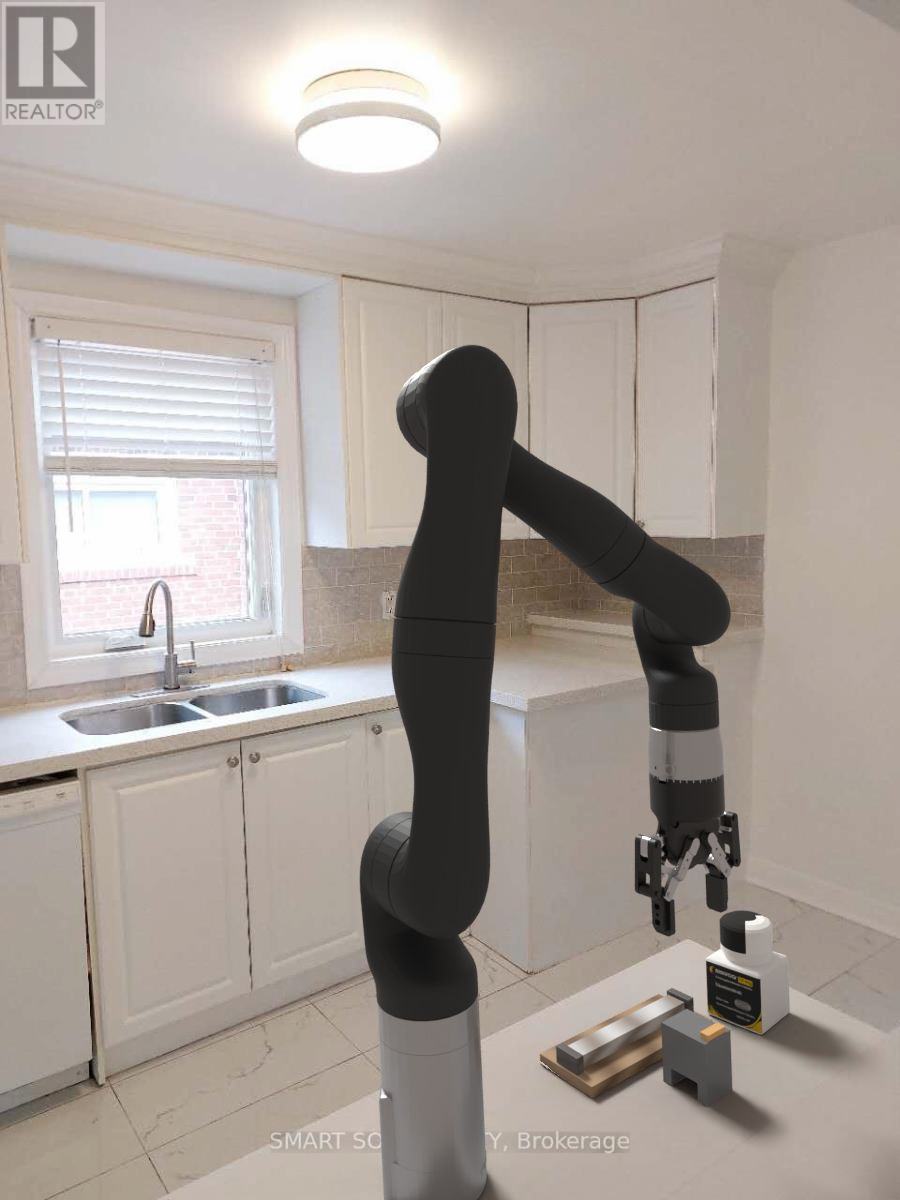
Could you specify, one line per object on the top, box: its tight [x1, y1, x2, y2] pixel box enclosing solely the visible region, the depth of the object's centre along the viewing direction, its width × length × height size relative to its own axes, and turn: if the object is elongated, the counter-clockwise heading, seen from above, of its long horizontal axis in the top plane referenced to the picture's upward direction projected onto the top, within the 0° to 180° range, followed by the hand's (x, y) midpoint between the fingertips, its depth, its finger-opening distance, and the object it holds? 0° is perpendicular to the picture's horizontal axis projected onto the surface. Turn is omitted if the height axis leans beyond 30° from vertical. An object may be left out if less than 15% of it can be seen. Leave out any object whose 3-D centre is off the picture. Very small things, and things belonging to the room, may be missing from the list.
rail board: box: [539, 987, 713, 1099], centre depth 97 cm, size 20×8×3 cm, turn 126°
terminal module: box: [661, 1009, 733, 1107], centre depth 89 cm, size 4×6×7 cm
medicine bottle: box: [705, 910, 791, 1036], centre depth 103 cm, size 7×7×12 cm
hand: (691, 921), depth 89 cm, fingers open, 8 cm apart
